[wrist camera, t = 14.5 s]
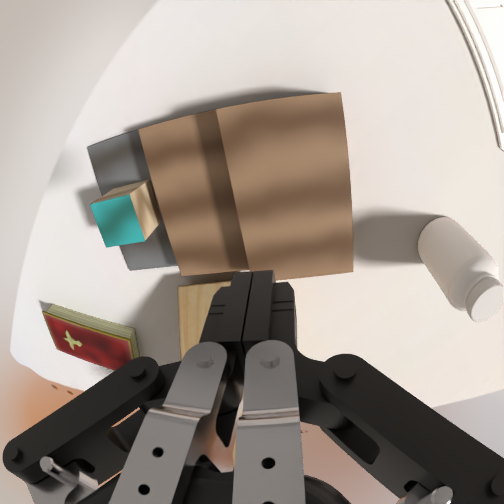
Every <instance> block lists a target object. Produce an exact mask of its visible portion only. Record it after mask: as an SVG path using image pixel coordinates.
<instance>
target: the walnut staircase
mask: <svg viewBox="0 0 504 504" xmlns="http://www.w3.org/2000/svg"><path fill="white" fill-rule="evenodd" d="M88 150H89V153H90V157H91V161H92V164H93V168H94V171H95V174H96V178H97V181H98V184H99V187H100V190H101V194H102V196H103V195H105V194H106V193H108V192H109V191H111V190H112V189H114V188H118V187H122V186H126V185H129V184H133V183H137V182H141V181H145V180H150V184H151V187H152V190H153V194H154V197H155V201H156V204H157V207H158V210H159V214H160V217H161V220H162V221H161V222H160V224H159V225H158V226H157V227H156V228H155V230H154V231H153V232H152V233H151V234H150V236H149V237H148V238H147V239H146V240H145V241H144V242H137V243H131V244H125V245H120V247H121V250H122V252H123V255H124V257H125V260H126V262H127V265H128V267H129V270H130V271H131V270H141V269H150V268H160V267H170V266H178V267H179V270H180V273H181V276H190V275H200V274H211V273H221V272H231V271H241V270H250V272H251V271H253V272H254V271H263V270H274V274H275V280H286V279H295V278H304V277H314V276H323V275H331V274H340V273H348V272H353V223H352V200H351V184H350V170H349V158H348V147H347V138H346V129H345V120H344V112H343V105H342V98H341V92H338V93H324V94H312V95H302V96H293V97H285V98H277V99H270V100H264V101H257V102H251V103H245V104H240V105H234V106H229V107H224V108H219V109H215V110H210V111H205V112H201V113H197V114H193V115H188V116H184V117H181V118H177V119H173V120H169V121H165V122H162V123H158V124H155V125H151V126H148V127H145V128H141V129H138V130H135V131H132V132H129V133H126V134H123V135H120V136H117V137H114V138H111V139H108V140H106V141H103V142H100V143H97V144H95V145H92V146H89V147H88Z"/></svg>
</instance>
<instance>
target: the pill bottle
mask: <svg viewBox="0 0 504 504" xmlns="http://www.w3.org/2000/svg"><path fill="white" fill-rule="evenodd" d="M418 253H419V256H420V258H421V260H422V261H423V263H424V264H425V266H426V267H427V269H428V270H429V272H430V273H431V274H432V276H433V277H434V279H435V280H436V282H437V284H438V285H439V287H440V288H441V290H442V291H443V293H444V294H445V296H446V298H447V299H448V301H449V302H450V304H451V305H452V306H453V307H455V308H456V309H458V310H460V311H467V313H468V314H469V316H470V318H471V319H472V320H473V321H476V322H482V321H485V320H487V319H489V318H490V317H492V316H493V315H494V314H495V313H496V312H497V311H498V310H499V309H500V307H501V306H502V304H503V301H504V287H503V286H502V284H501V283H500V282H499V269H498V265H497V263H496V261H495V259H494V258H493V257H492V256H491V255H490V254H489V253H488V252H487V251H486V250H485V249H484V248H483V247H482V246H481V245H480V244H479V243H478V242H477V241H476V240H475V239H474V238H473V237H472V236H471V235H470V234H469V233H468V232H467V231H466V230H465V229H464V228H463V227H462V226H461V225H460V224H459V223H458V222H456V221H455V220H453V219H451V218H448V217H441V218H437V219H435V220H433V221H431V222H430V223H429V224H428V225H427V226H426V227H425V228H424V229H423V231H422V232H421V234H420V237H419V240H418Z"/></svg>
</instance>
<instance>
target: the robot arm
mask: <svg viewBox="0 0 504 504" xmlns="http://www.w3.org/2000/svg"><path fill="white" fill-rule="evenodd" d="M243 391H244V398H242V397H243ZM138 407H139V408H140V410H138V411H137V412H136V413H134V414H133V415H131V416H130V417H129V418H127V419H126V420H124V421H123V422H121V423H120V424H119V425H117V426H115V427H111V426H113V425H114V424H116V423H117V422H118V421H120V420H121V419H123V418H124V417H126V416H127V415H128V414H130V413H131V412H133V411H134V410H135V409H137V408H138ZM242 410H243V414H242ZM241 414H242V417H241ZM300 421H301V422H305V423H309V424H313V425H317V426H320V428H321V429H322V431H323V432H324V433H326V434H327V435H328V436H329V437H330V438H331V439H332V440H333V441H334V442H335V443H336V444H337V445H338V446H340V448H342V449H343V450H344V451H345V452H346V453H347V454H348V455H349V456H351V457H352V458H353V459H354V460H355V461H356V462H357V463H358V464H360V466H362V467H363V468H364V469H365V470H366V471H367V472H368V473H370V474H371V475H372V476H373V477H374V478H375V479H377V480H378V481H379V482H380V483H381V484H383V485H384V486H385V487H386V488H388V489H389V490H390V491H391V492H392V493H394V494H395V495H396V496H397V497H398V498H400V499H399V500H398V502H397V503H396V504H504V458H502V457H501V456H500V455H498V454H496V453H495V452H494V451H492V450H491V449H489V448H488V447H486V446H485V445H483V444H482V443H480V442H479V441H477V440H476V439H474V438H473V437H471V436H470V435H469V434H467V433H466V432H464V431H463V430H461V429H460V428H458V427H457V426H456V425H454V424H453V423H451V422H450V421H448V420H447V419H446V418H444V417H443V416H441V415H440V414H438V413H437V412H436V411H434V410H433V409H431V408H430V407H429V406H427V405H426V404H424V403H423V402H421V401H420V400H419V399H417V398H416V397H414V396H413V395H412V394H410V393H409V392H407V391H406V390H405V389H403V388H402V387H400V386H399V385H398V384H396V383H395V382H394V381H392V380H391V379H389V378H388V377H387V376H385V375H384V374H382V373H381V372H380V371H378V370H377V369H376V368H374V367H373V366H371V365H370V364H369V363H367V362H366V361H365V360H363V359H362V358H360V357H358V356H356V355H352V354H339V355H335V356H333V357H331V358H329V359H328V360H326V361H325V362H322V361H317V360H313V359H309V358H307V357H305V356H304V355H302V354H301V353H300V352H299V351H298V349H297V318H296V307H295V296H294V290H293V288H292V287H291V285H290V284H289V283H288V282H281V283H276V280H275V274H274V270H263V271H254V272H253V271H251V272H238V273H234V274H233V277H232V281H231V284H230V286H225V287H221V288H220V289H219V290H218V291H217V292H216V293H215V294H214V295H213V298H212V301H211V305H210V308H209V311H208V315H207V317H206V321H205V324H204V327H203V330H202V334H201V337H200V340H199V344H197V345H195V346H193V347H191V348H190V349H189V350H188V351H187V352H186V353H185V355H184V357H183V359H182V361H179V362H175V363H171V364H167V365H162V366H158V364H157V362H156V361H155V360H154V359H152V358H150V357H137V358H134V359H132V360H130V361H129V362H127V363H126V364H124V365H123V366H121V367H120V368H118V369H117V370H115V371H114V372H113V373H111V374H110V375H108V376H107V377H105V378H104V379H102V380H101V381H99V382H98V383H96V384H95V385H94V386H92V387H91V388H89V389H88V390H86V391H85V392H83V393H82V394H80V395H79V396H77V397H76V398H74V399H73V400H71V401H70V402H69V403H67V404H65V405H64V406H62V407H61V408H59V409H58V410H56V411H55V412H54V413H52V414H50V415H49V416H47V417H46V418H44V419H43V420H41V421H40V422H38V423H37V424H35V425H34V426H32V427H31V428H29V429H28V430H26V431H24V432H23V433H22V434H20V435H18V436H17V437H15V438H14V439H12V440H11V441H10V442H8V444H7V445H6V447H5V449H4V451H3V463H4V465H5V467H6V469H7V470H9V471H10V472H11V473H13V474H14V475H16V476H17V477H19V478H21V479H22V480H23V481H24V482H25V483H26V484H27V486H28V489H29V491H30V494H31V496H32V499H33V501H34V503H35V504H351V503H350V502H349V501H348V500H347V499H346V498H345V497H344V496H343V495H342V494H341V493H340V492H339V491H338V490H336V489H335V488H334V487H332V486H331V485H329V484H327V483H326V482H324V481H322V480H319V479H317V478H314V477H311V476H308V475H304V472H303V457H302V442H301V429H300ZM235 440H236V448H235V465H234V461H233V448H234V444H235ZM233 465H234V471H233ZM122 469H123V470H122ZM121 470H122V472H121V473H119V474H118V475H117V476H115V477H114V478H112V479H111V480H110V481H108V482H107V483H105V484H104V485H103V486H101V487H100V488H98V485H100V484H101V483H103V482H104V481H106V480H107V479H109V478H110V477H112V476H113V475H115V474H116V473H118V472H119V471H121Z"/></svg>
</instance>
